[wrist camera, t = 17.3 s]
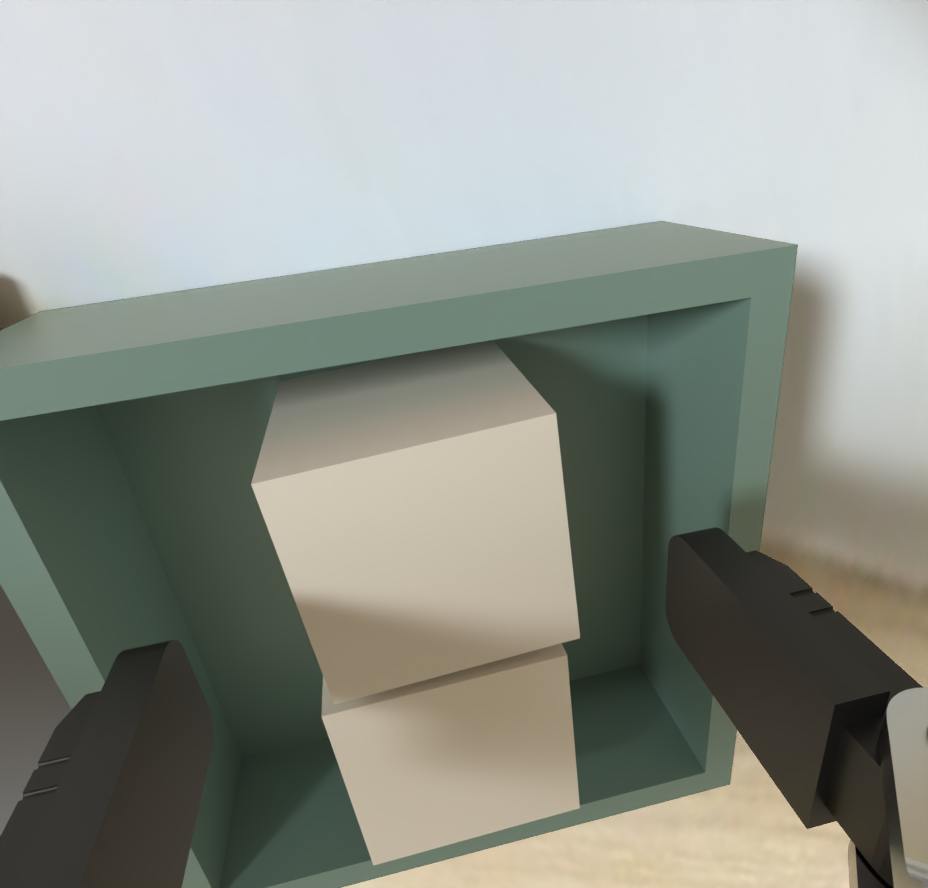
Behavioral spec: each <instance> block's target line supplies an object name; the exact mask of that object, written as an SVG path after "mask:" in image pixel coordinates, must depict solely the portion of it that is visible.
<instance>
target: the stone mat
mask: <svg viewBox="0 0 928 888" xmlns="http://www.w3.org/2000/svg"><path fill="white" fill-rule="evenodd" d="M71 710H72V709H71V708H70V706H69V704H68V702H67V701H66V699H65V697H64V695H63V694H62V692H61V690H60V688H59V687H58V685H57V683H56V681H55V680H54V678H53V676H52V674H51V672H50V671H49V669H48V667H47V665H46V664H45V662H44V660H43V658H42V657H41V655H40V653H39V651H38V650H37V648H36V646H35V644H34V643H33V641H32V639H31V637H30V635H29V634H28V632H27V630H26V628H25V627H24V625H23V623H22V621H21V620H20V618H19V616H18V614H17V613H16V611H15V609H14V607H13V606H12V604H11V602H10V600H9V599H8V597H7V595H6V593H5V591H4V590H3V588H2V586H1V584H0V836H1V834H2V832H3V830H4V828H5V826H6V824H7V822H8V820H9V818H10V817H11V815H12V813H13V811H14V809H15V807H16V805H17V803H18V801H21V800H22V799H23V791H24V789H25V787H26V785H27V783H28V781H29V779H30V777H31V775H32V773H33V771H34V770H36V769H38V761H39V759H40V757H41V755H42V753H43V751H44V749H45V747H46V746H47V744H48V742H49V740H50V738H51V736H52V734H53V732H54V730H55V728H56V726H57V725H58V724H59V723H60V722H61V721H62V720H63V719H64V718H65V717H66V715H67V714H68V713H69V712H70V711H71Z"/></svg>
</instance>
